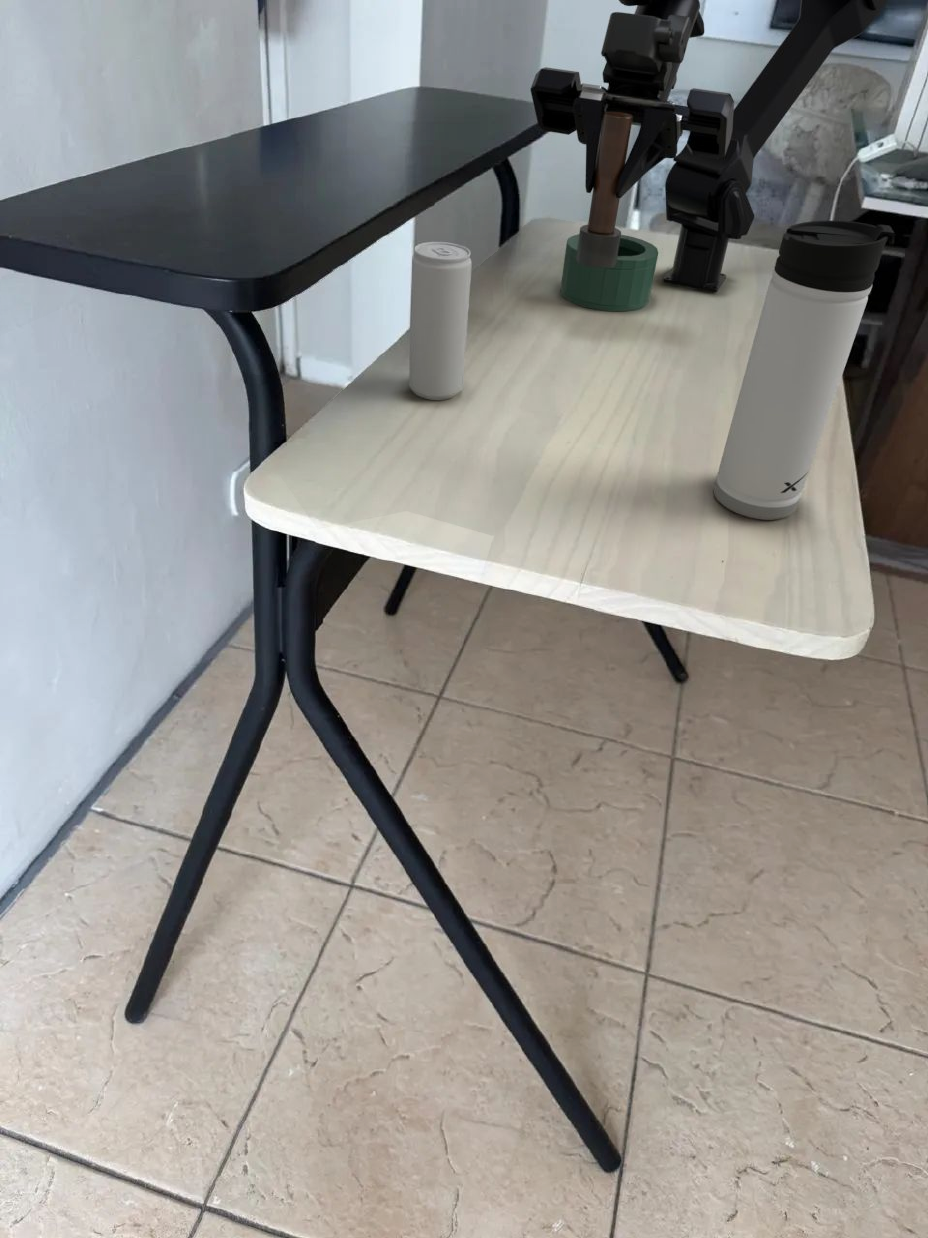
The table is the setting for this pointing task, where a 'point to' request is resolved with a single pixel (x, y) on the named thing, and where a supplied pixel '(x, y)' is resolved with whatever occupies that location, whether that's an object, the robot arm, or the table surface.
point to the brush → (605, 195)
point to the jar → (611, 277)
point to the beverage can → (439, 319)
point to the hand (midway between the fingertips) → (602, 192)
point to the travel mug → (797, 363)
